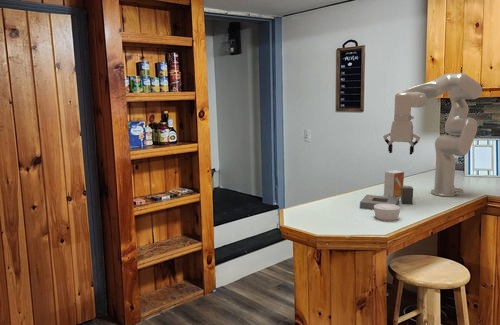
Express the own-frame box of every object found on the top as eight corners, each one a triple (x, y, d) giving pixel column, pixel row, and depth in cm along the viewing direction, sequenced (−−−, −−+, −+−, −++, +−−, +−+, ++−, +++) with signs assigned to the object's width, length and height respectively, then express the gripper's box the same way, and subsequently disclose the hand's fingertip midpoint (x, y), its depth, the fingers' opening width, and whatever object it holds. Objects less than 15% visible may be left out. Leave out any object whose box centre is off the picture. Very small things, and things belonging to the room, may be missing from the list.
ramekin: (368, 218, 193) (369, 206, 193) (381, 213, 201) (381, 201, 200) (392, 223, 186) (392, 211, 185) (404, 217, 193) (404, 206, 192)
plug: (411, 202, 219) (412, 185, 218) (412, 204, 214) (413, 187, 213) (400, 201, 220) (401, 185, 219) (401, 204, 215) (402, 187, 214)
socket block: (399, 203, 216) (399, 197, 216) (394, 211, 202) (395, 204, 202) (366, 200, 223) (366, 194, 223) (359, 208, 209) (360, 201, 209)
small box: (393, 197, 228) (394, 173, 226) (383, 195, 233) (384, 171, 231) (403, 195, 232) (404, 171, 230) (393, 193, 238) (394, 169, 235)
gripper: (422, 118, 210) (420, 153, 213) (386, 117, 219) (384, 151, 222) (419, 119, 204) (417, 155, 207) (382, 118, 212) (380, 153, 215)
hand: (400, 153), depth 214 cm, fingers open, 9 cm apart
